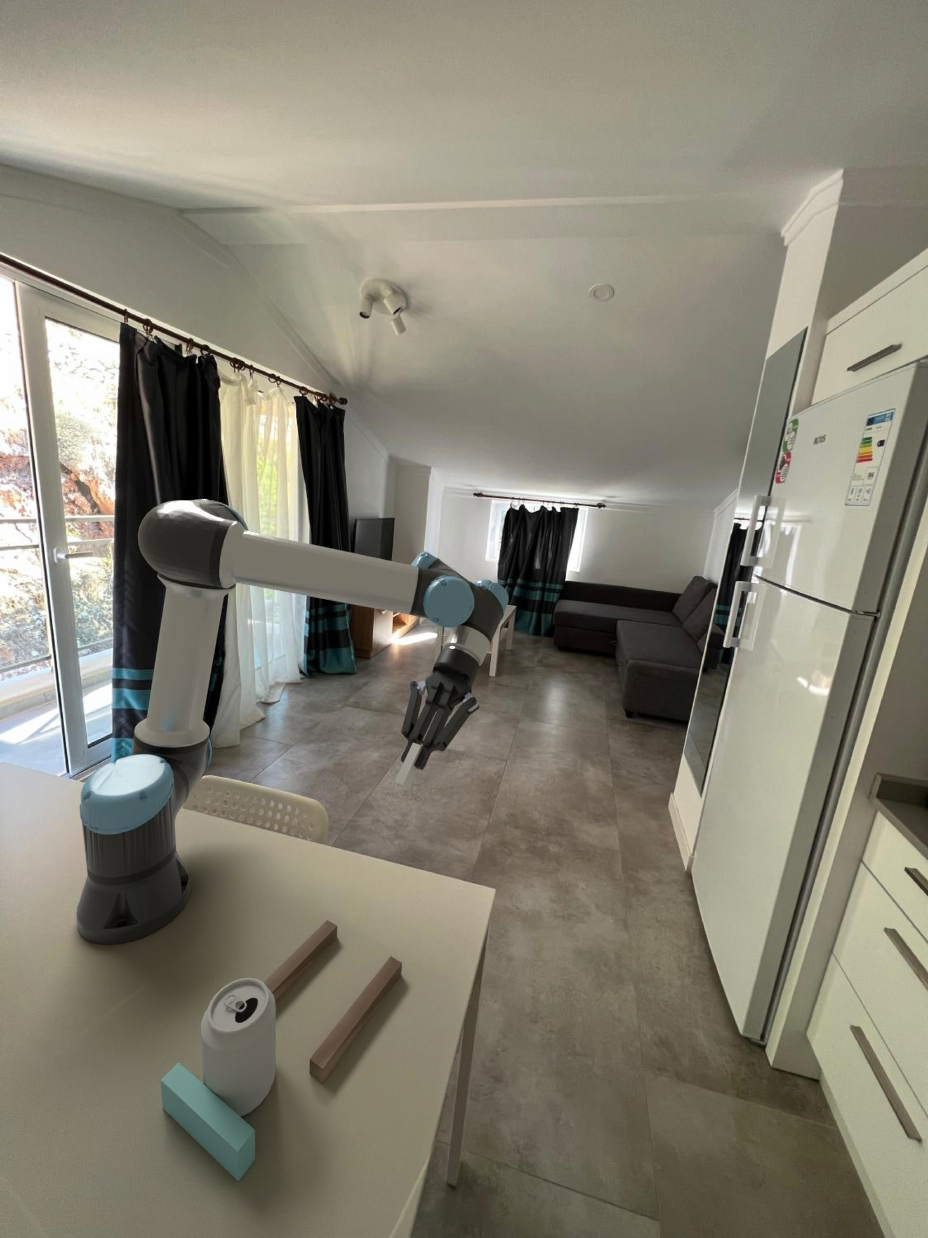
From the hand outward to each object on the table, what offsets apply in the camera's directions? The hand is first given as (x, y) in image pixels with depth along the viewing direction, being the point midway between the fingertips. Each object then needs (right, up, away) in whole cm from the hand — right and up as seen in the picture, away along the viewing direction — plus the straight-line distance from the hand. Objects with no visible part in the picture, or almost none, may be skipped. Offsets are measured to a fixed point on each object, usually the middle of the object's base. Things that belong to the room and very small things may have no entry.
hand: (402, 785), depth 76 cm
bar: (-17, -28, -24) cm, 41 cm away
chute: (-9, -26, -9) cm, 29 cm away
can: (-16, -28, -19) cm, 38 cm away
